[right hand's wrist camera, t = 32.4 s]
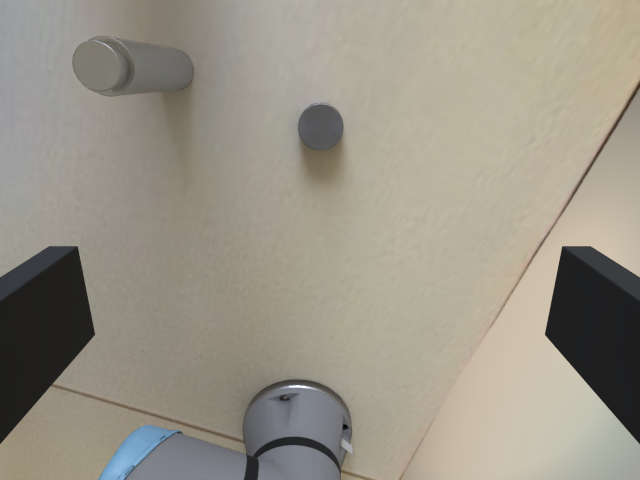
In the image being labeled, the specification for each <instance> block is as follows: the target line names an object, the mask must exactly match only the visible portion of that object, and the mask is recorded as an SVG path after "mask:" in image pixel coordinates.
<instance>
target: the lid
mask: <svg viewBox="0 0 640 480" xmlns="http://www.w3.org/2000/svg"><path fill="white" fill-rule="evenodd" d="M298 130H299V134H300V137H301V139H302V140H303V142H304V143H305V144H306V145H308V146H309V147H311V148H313V149H317V150H325V149H328V148H331V147H332V146H334V145H335V144H336V143H337V142H338V141H339V140H340V138H341V136H342V133H343V121H342V118H341V116H340V114H339V112H338V111H337V110H336V109H335V108H334V107H333V106H331V105H329V104H326V103H316V104H313V105H311V106H309V107H307V108H306V109H305V110H304V112H303V113H302V115H301V117H300V119H299V124H298Z"/></svg>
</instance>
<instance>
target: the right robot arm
mask: <svg viewBox="0 0 640 480" xmlns="http://www.w3.org/2000/svg"><path fill="white" fill-rule="evenodd" d="M94 335H95V332H94V327H93V322H92V317H91V312H90V307H89V302H88V296H87V291H86V286H85V281H84V276H83V271H82V266H81V261H80V256H79V251H78V246H49V247H48V248H46V249H44V250H43V251H41V252H40V253H38V254H37V255H35V256H33V257H32V258H30V259H29V260H27V261H25V262H24V263H22V264H21V265H19V266H18V267H16V268H14V269H13V270H11V271H10V272H8V273H6V274H5V275H3V276H2V277H0V444H1V443H2V441H3V440H4V439H5V438H6V437H7V436H8V434H9V433H10V432H11V431H12V430H13V429H14V428H15V426H16V425H17V424H18V423H19V422H20V421H21V420H22V418H23V417H24V416H25V415H26V414H27V413H28V411H29V410H30V409H31V408H32V407H33V406H34V405H35V403H36V402H37V401H38V400H39V399H40V398H41V396H42V395H43V394H44V393H45V392H46V391H47V390H48V388H49V387H50V386H51V385H52V384H53V383H54V381H55V380H56V379H57V378H58V377H59V376H60V375H61V373H62V372H63V371H64V370H65V369H66V368H67V366H68V365H69V364H70V363H71V362H72V361H73V360H74V358H75V357H76V356H77V355H78V354H79V353H80V351H81V350H82V349H83V348H84V347H85V346H86V345H87V343H88V342H89V341H90V340H91V339H92V338H93V336H94ZM545 335H546V336H547V338H548V339H549V340H550V341H551V342H552V343H553V345H554V346H555V347H556V348H557V349H558V350H559V351H560V353H561V354H562V355H563V356H564V357H565V358H566V360H567V361H568V362H569V363H570V364H571V365H572V366H573V368H574V369H575V370H576V371H577V372H578V373H579V375H580V376H581V377H582V378H583V379H584V380H585V381H586V383H587V384H588V385H589V386H590V387H591V388H592V390H593V391H594V392H595V393H596V394H597V395H598V396H599V398H600V399H601V400H602V401H603V402H604V403H605V404H606V406H607V407H608V408H609V409H610V410H611V411H612V413H613V414H614V415H615V416H616V417H617V418H618V419H619V421H620V422H621V423H622V424H623V425H624V426H625V427H626V429H627V430H628V431H629V432H630V433H631V434H632V436H633V437H634V438H635V439H636V440H637V441H638V443H639V444H640V277H638V276H637V275H635V274H634V273H632V272H630V271H629V270H627V269H626V268H624V267H622V266H621V265H619V264H618V263H616V262H615V261H613V260H611V259H610V258H608V257H607V256H605V255H603V254H602V253H600V252H599V251H597V250H596V249H594V248H592V247H591V246H563V247H562V251H561V256H560V261H559V266H558V271H557V276H556V281H555V286H554V291H553V296H552V302H551V307H550V312H549V317H548V322H547V327H546V332H545ZM351 436H352V428H351V418H350V413H349V410H348V408H347V406H346V404H345V403H344V401H343V400H342V399H341V398H340V397H339V396H338V395H337V394H336V393H335V392H334V391H332V390H331V389H329V388H327V387H326V386H323V385H321V384H318V383H315V382H312V381H306V380H288V381H282V382H278V383H275V384H273V385H270V386H268V387H267V388H265V389H263V390H262V391H260V392H259V393H258V394H257V395H256V396H255V397H254V398H253V399H252V401H251V402H250V404H249V406H248V408H247V410H246V414H245V418H244V423H243V438H244V443H245V447H246V452H247V454H243V453H240V452H237V451H234V450H231V449H228V448H225V447H222V446H218V445H215V444H212V443H209V442H206V441H203V440H200V439H197V438H194V437H190V436H187V435H184V434H182V431H179V430H168V429H165V428H161V427H157V426H153V425H145V426H142V427H140V428H138V429H136V430H135V431H133V432H132V433H131V434H130V435H129V436H128V437H127V438H126V439H125V441H124V442H123V443H122V444H121V446H120V447H119V448H118V450H117V451H116V452H115V454H114V455H113V457H112V458H111V460H110V461H109V463H108V464H107V466H106V468H105V469H104V471H103V472H102V474H101V476H100V477H99V479H98V480H341V467H342V465H343V462H344V459H345V456H346V453H347V451H348V452H350V453H351V454H353V447H352V445H351V444H350V441H351Z"/></svg>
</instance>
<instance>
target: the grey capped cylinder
mask: <svg viewBox="0 0 640 480" xmlns="http://www.w3.org/2000/svg"><path fill="white" fill-rule="evenodd" d="M73 68H74V72H75V74H76V76H77V78H78V79H79V80H80V81H81V83H82V84H83V85H84V86H85V87H87V89H89V90H92V91H93V92H97V93H99V94H102V95H105V96H122V95H131V94H141V93H151V92H161V91H171V90H180V89H183V88H185V87H187V86H188V85H189V84H190V82H191V81H192V78H193V74H194V69H193V64H192V62H191V60H190V58H189V57H188V56H187V55H186V54H185V53H184V52H182V51H180V50H178V49H174V48H168V47H163V46H157V45H152V44H146V43H141V42H135V41H130V40H125V39H119V38H114V37H108V36H97V37H94V38H91V39H90V40H88V41H86V42H84V43H82V44H81V45H79V46H78V48H77V49H76V50H75V52H74V55H73Z"/></svg>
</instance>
